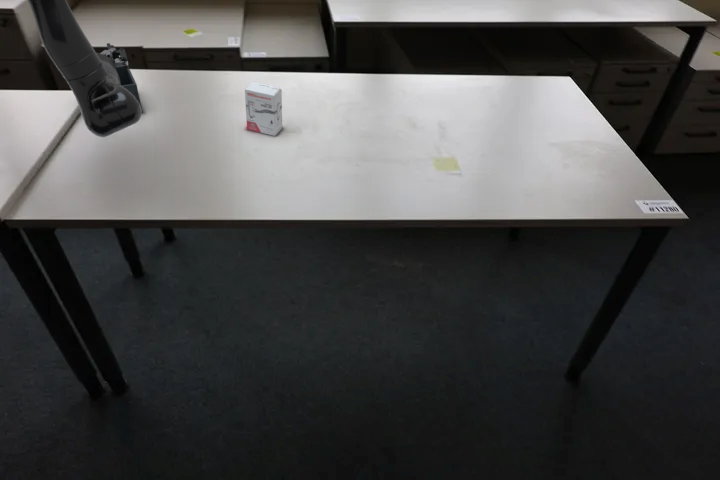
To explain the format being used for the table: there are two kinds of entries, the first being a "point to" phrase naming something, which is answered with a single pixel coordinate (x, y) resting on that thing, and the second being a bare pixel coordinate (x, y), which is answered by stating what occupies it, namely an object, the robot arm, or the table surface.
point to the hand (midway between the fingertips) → (89, 49)
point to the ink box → (263, 108)
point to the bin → (128, 81)
